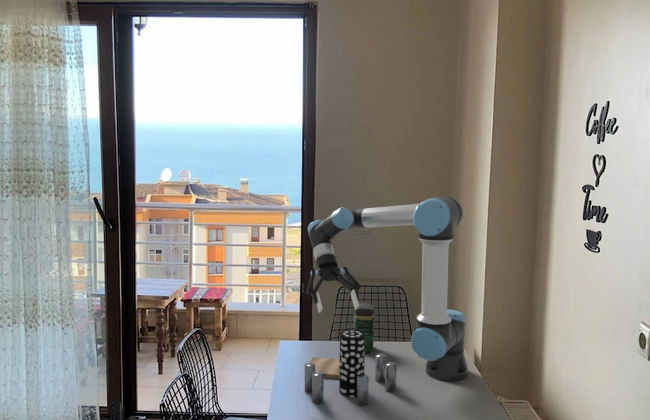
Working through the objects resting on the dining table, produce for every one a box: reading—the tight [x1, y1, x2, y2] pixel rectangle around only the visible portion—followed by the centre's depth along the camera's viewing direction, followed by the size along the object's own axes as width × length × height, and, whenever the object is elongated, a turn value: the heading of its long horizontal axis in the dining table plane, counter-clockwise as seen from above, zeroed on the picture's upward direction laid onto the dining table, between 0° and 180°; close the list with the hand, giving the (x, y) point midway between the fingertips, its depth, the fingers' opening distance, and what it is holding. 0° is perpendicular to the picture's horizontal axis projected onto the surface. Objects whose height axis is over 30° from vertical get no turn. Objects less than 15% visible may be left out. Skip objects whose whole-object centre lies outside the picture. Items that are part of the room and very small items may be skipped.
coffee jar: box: [353, 302, 375, 354], centre depth 217 cm, size 10×8×19 cm
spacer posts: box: [304, 352, 397, 407], centre depth 181 cm, size 30×24×9 cm
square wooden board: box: [309, 356, 340, 380], centre depth 198 cm, size 14×14×2 cm
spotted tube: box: [338, 329, 366, 398], centre depth 179 cm, size 8×8×20 cm
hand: (339, 309), depth 188 cm, fingers open, 13 cm apart
